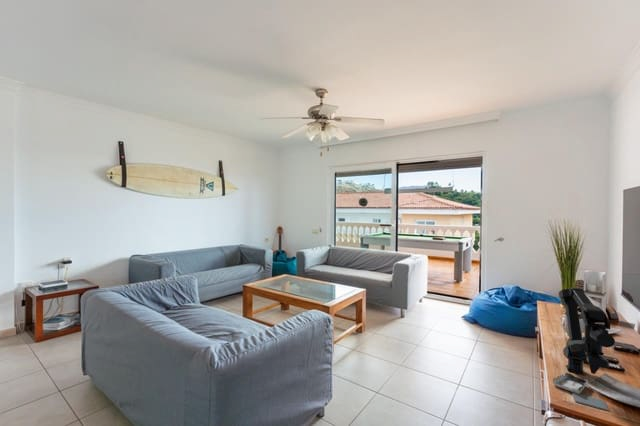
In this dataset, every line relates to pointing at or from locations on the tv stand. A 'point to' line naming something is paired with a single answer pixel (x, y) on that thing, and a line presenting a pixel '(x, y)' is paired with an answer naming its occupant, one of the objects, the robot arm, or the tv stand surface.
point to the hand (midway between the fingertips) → (592, 373)
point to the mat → (590, 401)
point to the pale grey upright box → (595, 288)
